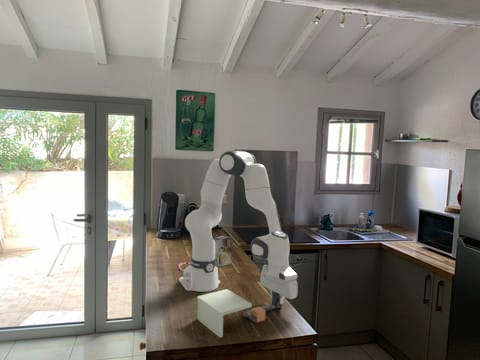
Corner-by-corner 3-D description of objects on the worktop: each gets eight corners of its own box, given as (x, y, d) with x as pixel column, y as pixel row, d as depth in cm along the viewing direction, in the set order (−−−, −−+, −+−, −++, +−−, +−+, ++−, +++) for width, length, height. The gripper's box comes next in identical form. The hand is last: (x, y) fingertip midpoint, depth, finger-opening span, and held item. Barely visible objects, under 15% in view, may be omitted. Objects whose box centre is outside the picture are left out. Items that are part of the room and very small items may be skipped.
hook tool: (242, 314, 146) (243, 300, 145) (277, 304, 156) (277, 291, 156) (254, 322, 139) (254, 307, 139) (289, 311, 150) (289, 297, 149)
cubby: (196, 318, 142) (197, 296, 141) (226, 310, 150) (226, 289, 149) (220, 337, 128) (220, 312, 128) (251, 327, 137) (251, 303, 136)
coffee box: (224, 261, 216) (225, 235, 214) (231, 264, 211) (231, 237, 209) (212, 264, 210) (212, 237, 209) (218, 267, 205) (219, 239, 204)
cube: (251, 318, 144) (251, 308, 143) (259, 315, 146) (259, 306, 146) (257, 322, 140) (257, 312, 140) (265, 319, 143) (265, 310, 142)
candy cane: (177, 270, 195) (178, 262, 210) (177, 273, 195) (178, 264, 210) (191, 270, 196) (191, 262, 211) (191, 272, 196) (191, 264, 211)
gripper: (257, 264, 159) (256, 294, 160) (289, 278, 143) (288, 312, 144) (268, 262, 163) (267, 291, 164) (300, 275, 146) (299, 308, 147)
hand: (277, 301), depth 154 cm, fingers closed on hook tool, 3 cm apart
